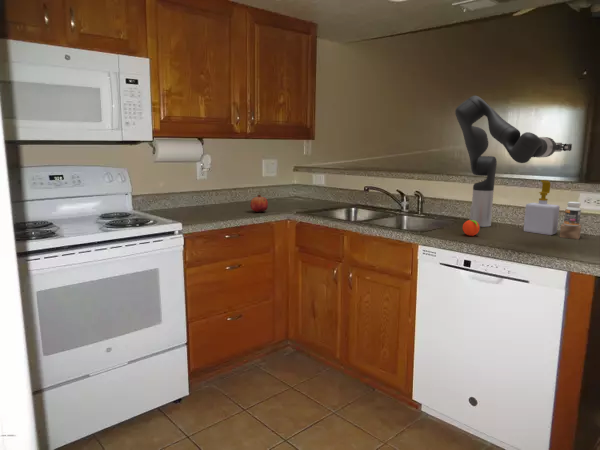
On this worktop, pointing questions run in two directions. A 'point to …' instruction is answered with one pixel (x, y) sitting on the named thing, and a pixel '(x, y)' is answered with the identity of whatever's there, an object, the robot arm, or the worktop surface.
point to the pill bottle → (572, 214)
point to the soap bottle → (542, 214)
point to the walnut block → (570, 231)
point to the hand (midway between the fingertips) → (555, 146)
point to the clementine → (471, 227)
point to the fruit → (259, 204)
